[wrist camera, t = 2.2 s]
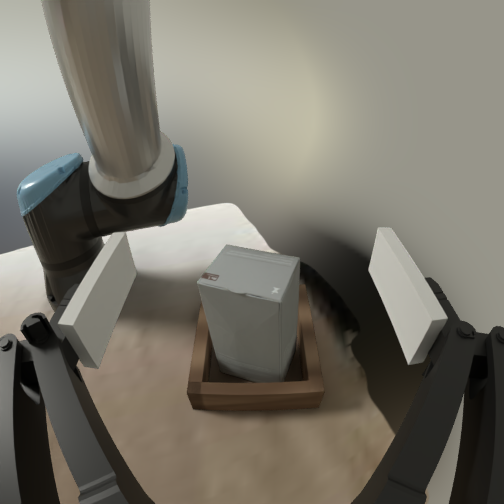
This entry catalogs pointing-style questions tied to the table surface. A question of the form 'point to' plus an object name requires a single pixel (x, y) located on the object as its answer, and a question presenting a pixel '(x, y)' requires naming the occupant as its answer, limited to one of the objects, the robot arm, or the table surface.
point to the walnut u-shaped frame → (257, 393)
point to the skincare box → (252, 312)
